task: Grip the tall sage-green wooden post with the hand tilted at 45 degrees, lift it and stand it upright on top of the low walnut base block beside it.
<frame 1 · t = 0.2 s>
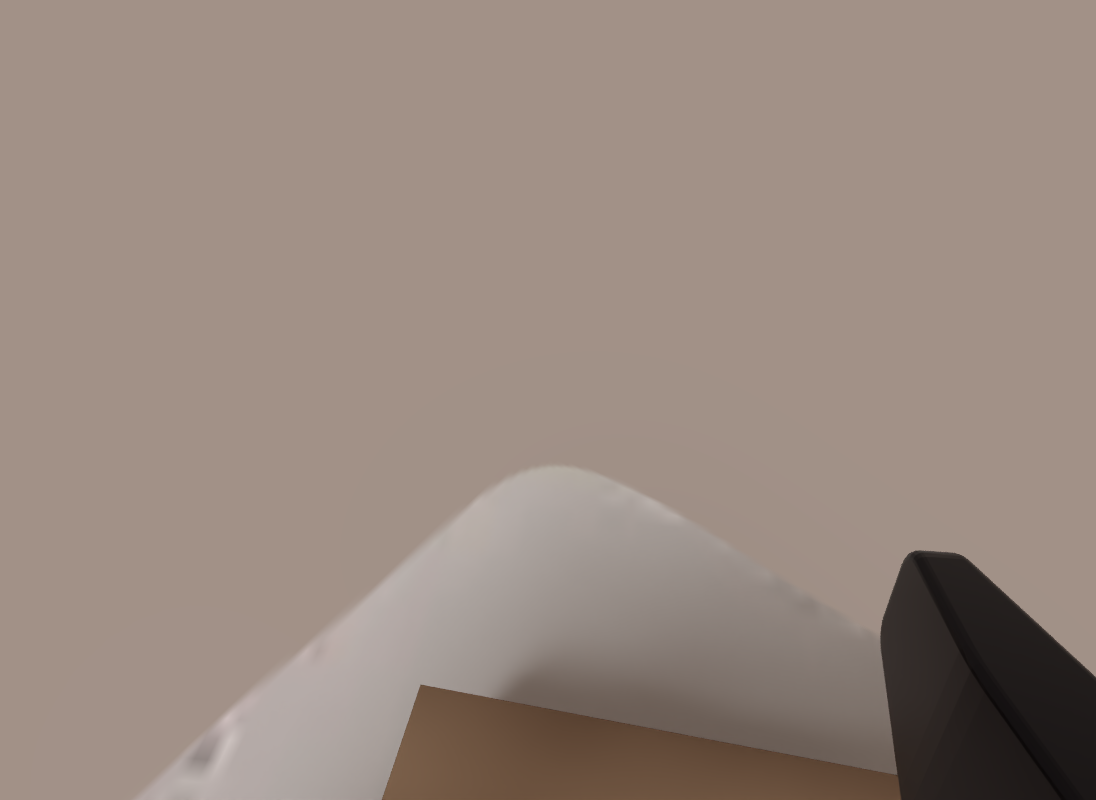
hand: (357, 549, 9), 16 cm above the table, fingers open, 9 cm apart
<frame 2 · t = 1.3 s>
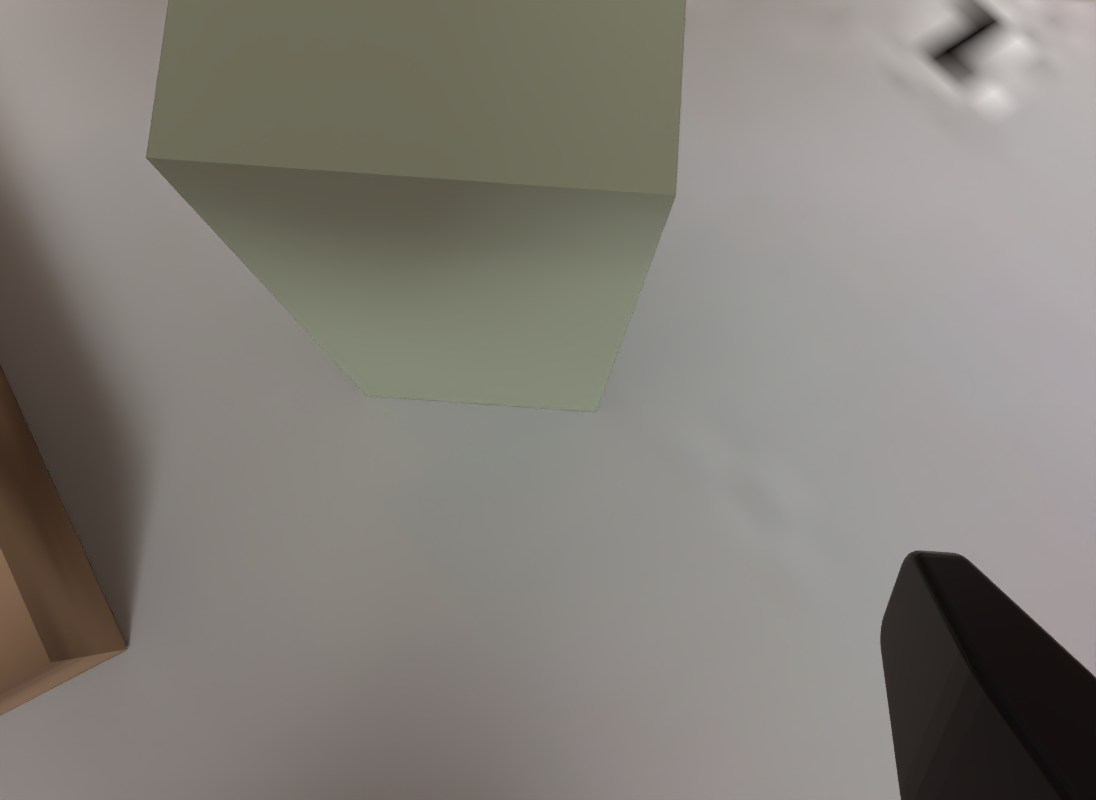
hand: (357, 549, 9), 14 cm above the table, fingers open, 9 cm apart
post: (490, 292, 23), on the table
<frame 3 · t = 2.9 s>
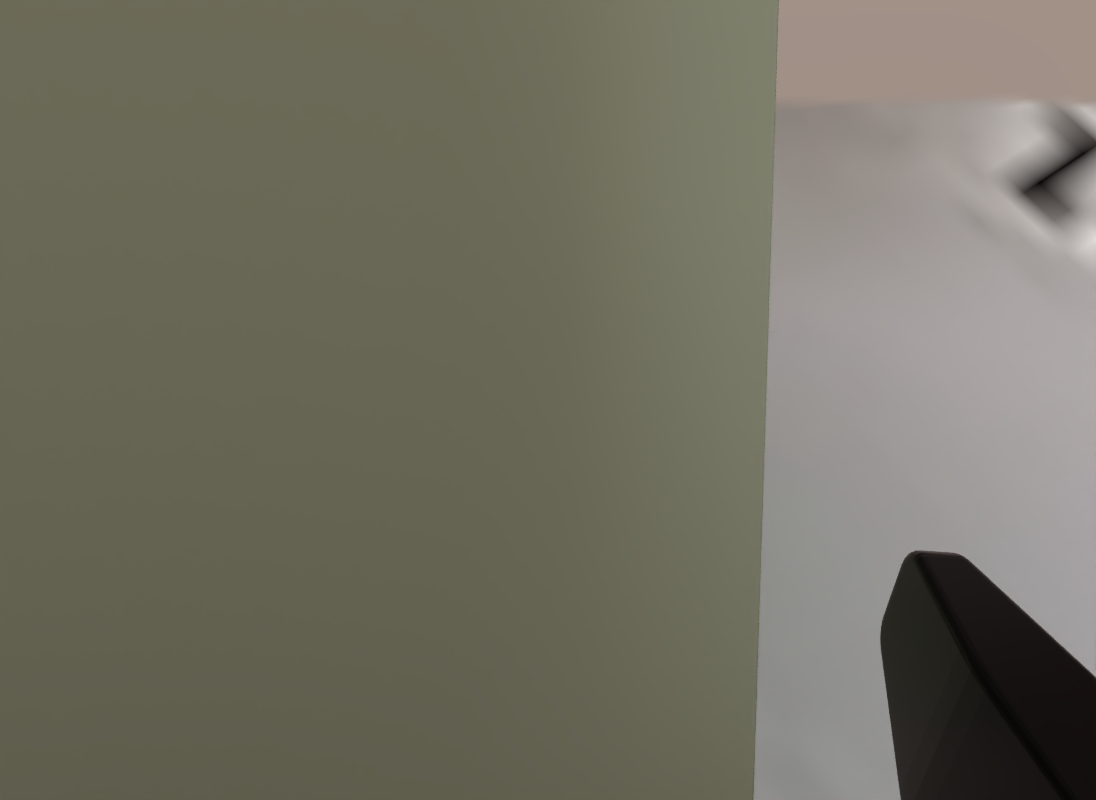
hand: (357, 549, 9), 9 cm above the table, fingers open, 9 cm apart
post: (453, 505, 18), on the table
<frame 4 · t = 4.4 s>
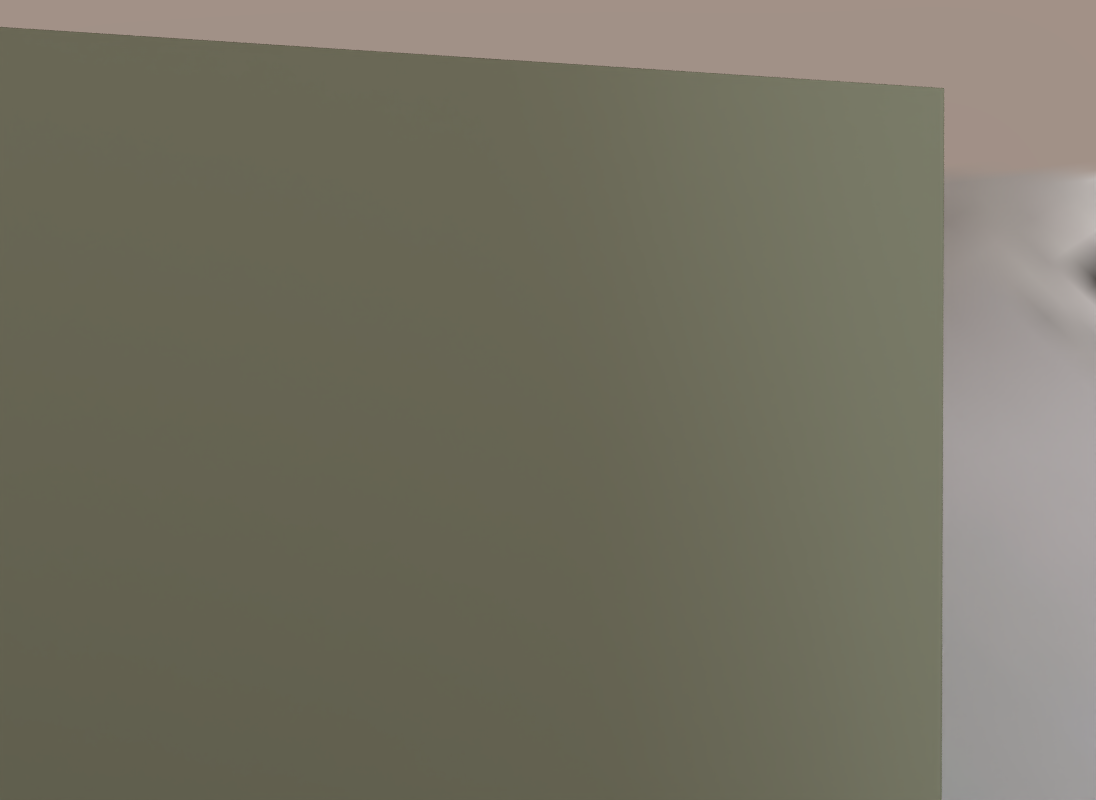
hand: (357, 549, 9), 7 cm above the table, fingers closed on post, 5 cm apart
post: (424, 662, 15), on the table, touching gripper
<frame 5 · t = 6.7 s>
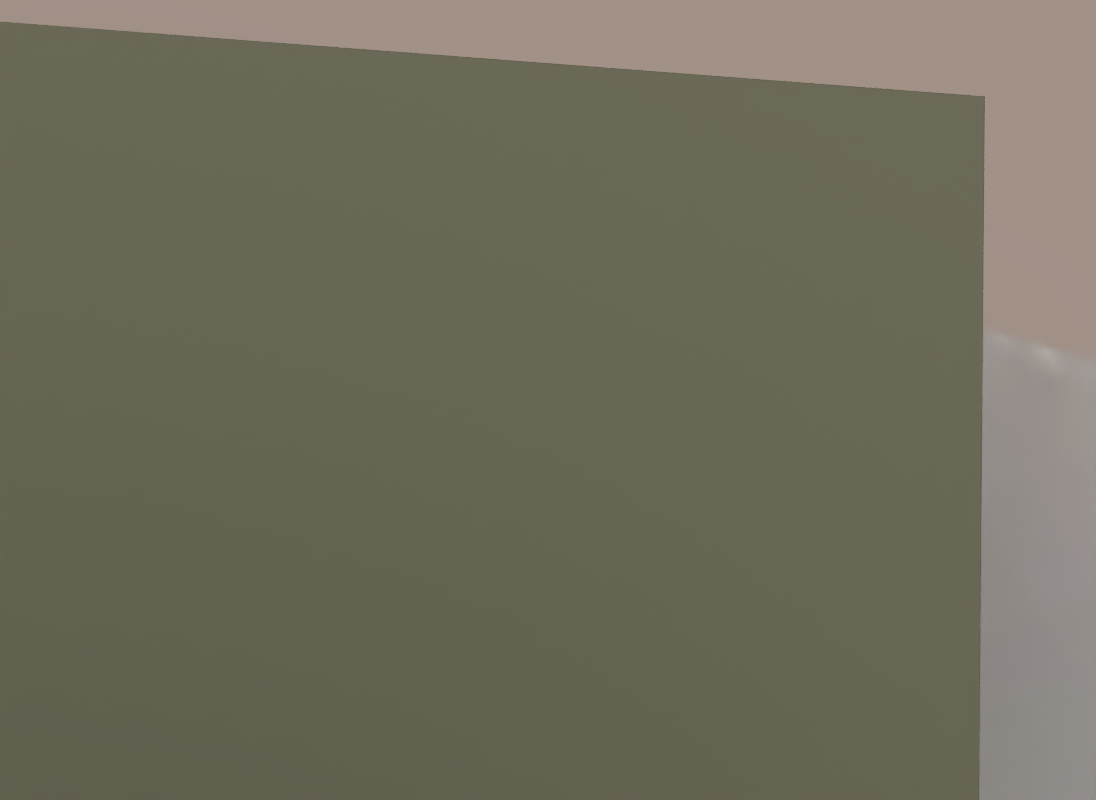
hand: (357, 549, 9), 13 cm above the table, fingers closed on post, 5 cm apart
post: (431, 659, 15), point 7 cm above the table, touching gripper
when the fingers open (11 cm above the table, at t = 8.7 s): post drops 1 cm, resting on base block.
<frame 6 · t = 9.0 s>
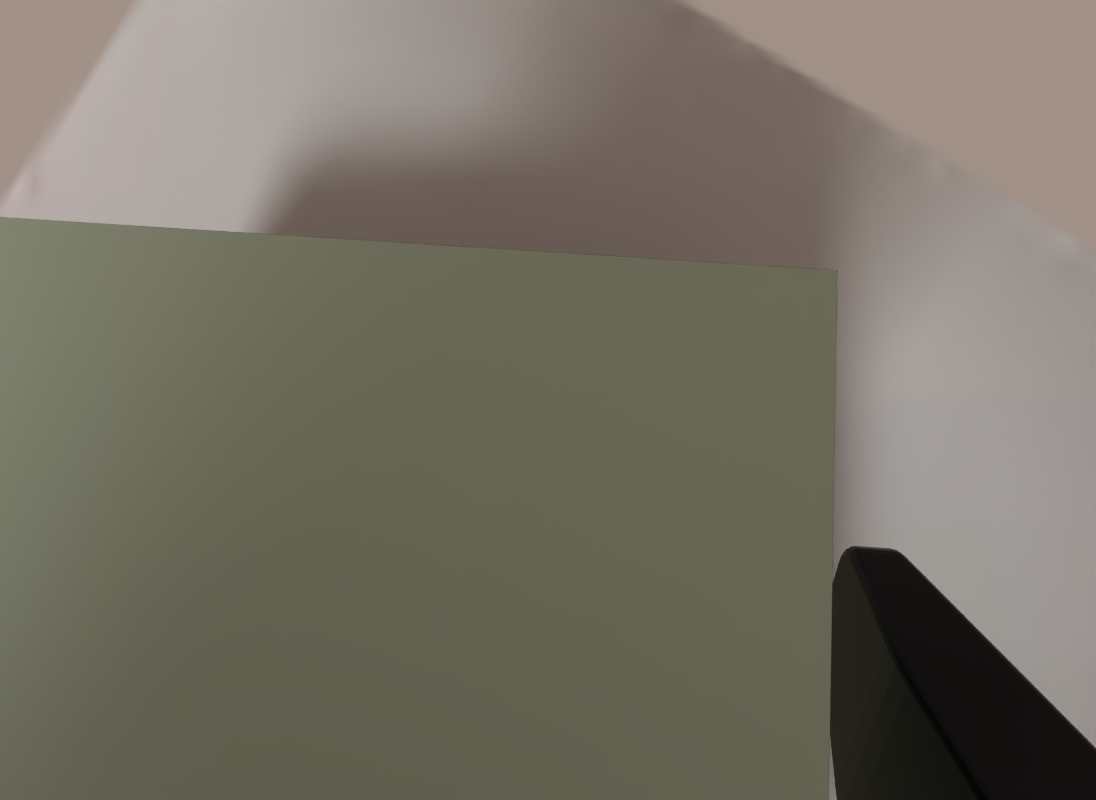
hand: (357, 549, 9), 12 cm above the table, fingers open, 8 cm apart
post: (437, 653, 16), point 3 cm above the table, touching base block
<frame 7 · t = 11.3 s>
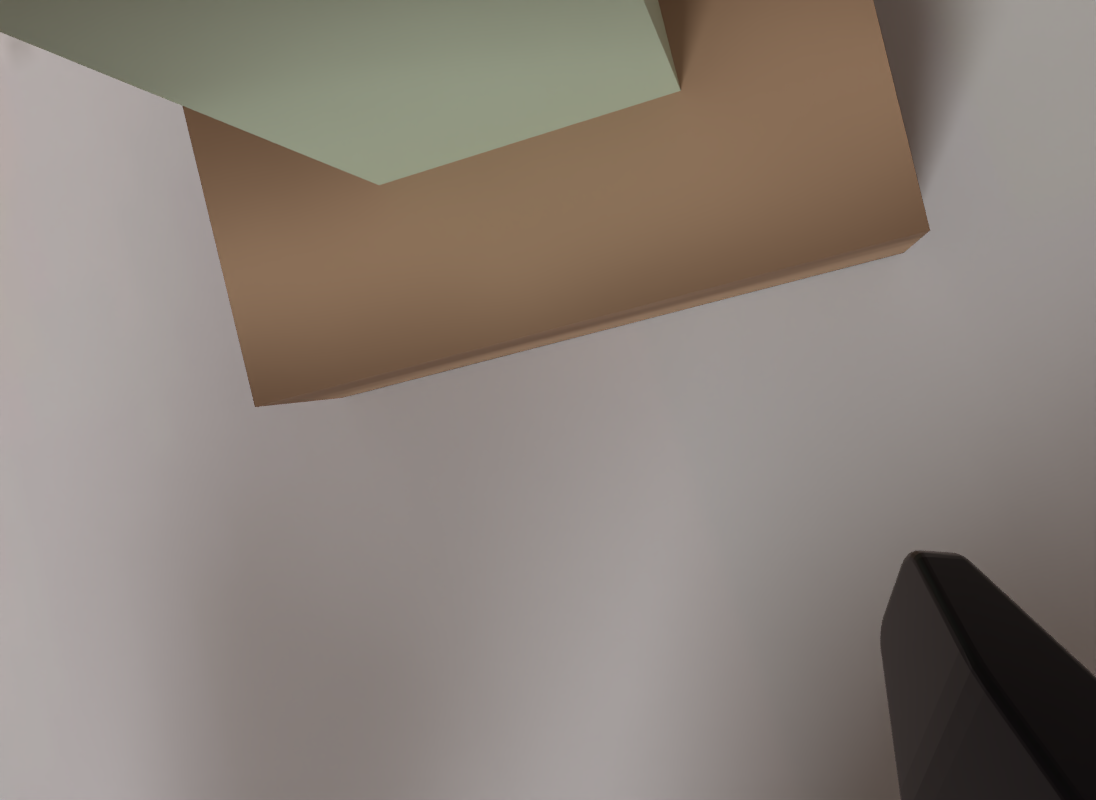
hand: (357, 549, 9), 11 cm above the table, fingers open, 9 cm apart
base block: (535, 47, 20), on the table
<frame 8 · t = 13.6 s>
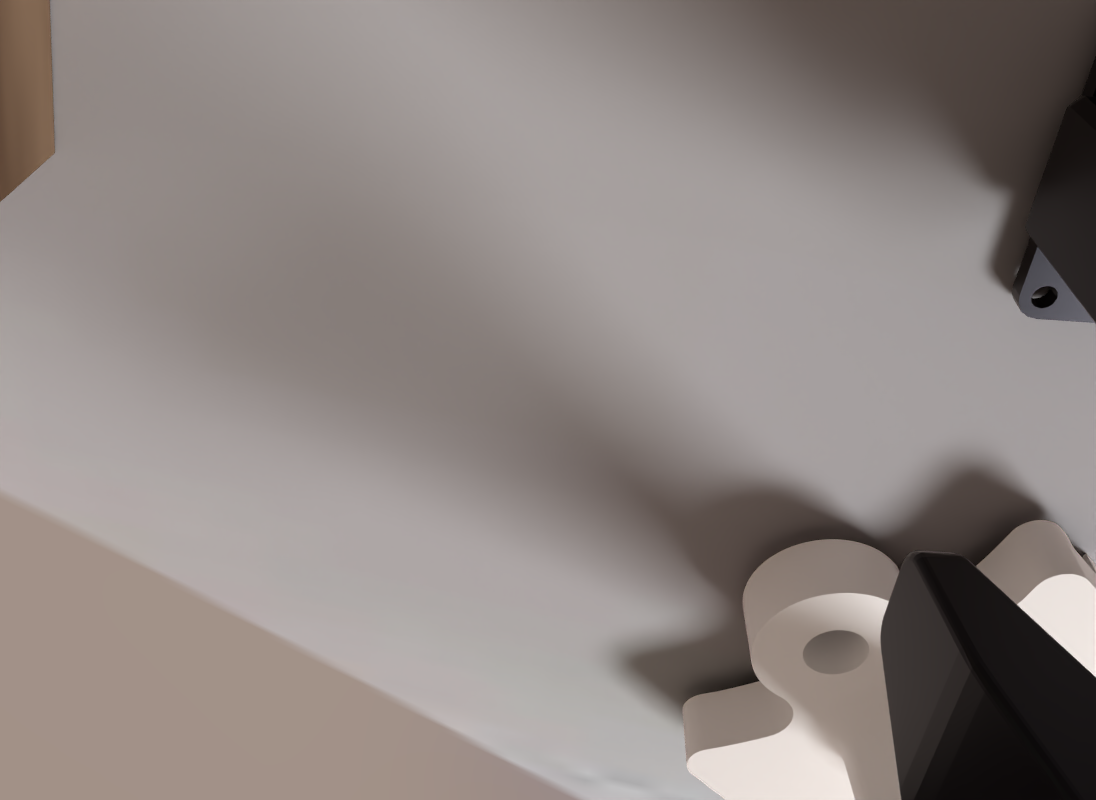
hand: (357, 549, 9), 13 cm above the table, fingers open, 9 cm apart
joystick: (856, 616, 27), on the table
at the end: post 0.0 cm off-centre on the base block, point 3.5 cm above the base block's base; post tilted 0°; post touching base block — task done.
